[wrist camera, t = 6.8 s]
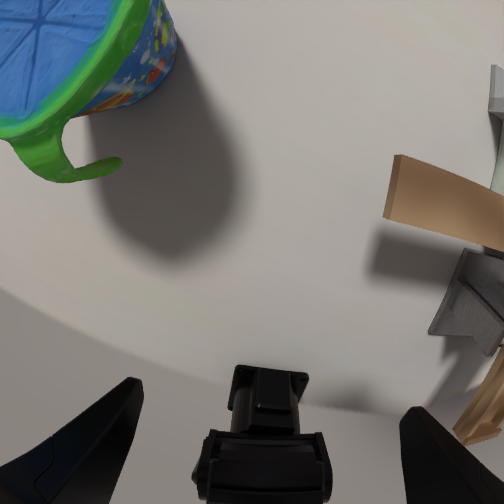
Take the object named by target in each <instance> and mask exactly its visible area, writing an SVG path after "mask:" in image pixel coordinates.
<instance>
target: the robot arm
mask: <svg viewBox="0 0 504 504" xmlns="http://www.w3.org/2000/svg"><path fill="white" fill-rule="evenodd" d="M240 370H242V371H240ZM308 380H309V377H308V374H307V373H302V372H293V371H284V370H275V369H267V368H260V367H253V366H246V365H237V366H236V367H235V370H234V375H233V381H232V386H231V391H230V396H229V402H228V410H230V411H233V413H232V421H231V429H230V432H225V431H217V430H215V429H210V433H209V436H208V437H206V439H204V441H203V447H202V452H201V456H200V458H199V460H198V462H197V464H196V466H195V468H194V470H193V473H192V477H191V478H192V481H193V482H194V483H195V484H196V485H197V490H198V497H199V499H200V500H205V501H207V502H206V503H207V504H323V503H327V502H328V501H329V499H330V496H331V492H332V483H333V477H332V476H333V475H332V468H331V463H330V459H329V456H328V452H327V449H326V445H325V442H324V438H323V435H322V432H315V433H314V434H300V424H299V411H298V403H299V401H300V398H301V396H302V394H303V392H304V389H305V387H306V385H307V383H308ZM143 400H144V392H143V385H142V381H141V380H140V379H137V378H134V377H127V378H126V379H125V380H124V381H122V382H121V383H120V384H119V385H117V386H116V387H115V388H113V389H112V390H111V391H110V392H108V393H107V394H106V395H104V396H103V397H102V398H100V399H99V400H98V401H96V402H95V403H94V404H93V405H91V406H90V407H89V408H87V409H86V410H85V411H83V412H82V413H81V414H80V415H78V416H77V417H76V418H74V419H73V420H72V421H71V422H69V423H68V424H66V425H65V426H64V427H62V428H61V429H60V430H58V431H57V432H56V433H55V434H53V435H52V437H51V436H50V437H49V438H47V439H46V440H45V441H43V442H42V443H41V444H39V445H38V446H36V447H35V448H33V449H32V450H30V451H29V452H27V453H25V454H23V455H21V456H20V457H18V458H16V459H14V460H12V461H10V462H8V463H6V464H4V465H3V466H1V467H0V504H109V502H110V499H111V496H112V494H113V491H114V488H115V486H116V483H117V481H118V478H119V476H120V473H121V470H122V468H123V465H124V462H125V460H126V457H127V455H128V452H129V450H130V447H131V445H132V442H133V439H134V435H135V431H136V427H137V423H138V419H139V416H140V412H141V408H142V404H143ZM399 428H400V442H401V461H402V468H403V475H404V483H405V491H406V500H407V504H504V482H503V481H501V480H500V479H499V478H498V477H496V476H495V475H494V474H493V473H492V472H490V471H489V470H488V469H487V468H486V467H485V466H484V465H483V464H482V463H480V461H479V460H478V459H477V458H475V456H474V455H472V454H471V453H470V452H469V451H468V450H467V449H466V448H465V447H464V446H463V445H462V444H461V443H460V442H459V441H458V440H457V439H456V438H454V436H452V435H451V434H450V433H449V432H448V431H447V430H446V429H445V428H444V427H443V426H442V425H441V424H440V423H439V422H438V421H437V420H436V419H435V418H434V417H433V416H431V415H430V414H429V413H428V412H427V411H426V410H425V409H424V408H423V407H421V406H415V407H411V408H410V409H409V410H408V411H407V413H406V414H405V415H404V416H403V418H402V419H401V421H400V424H399Z"/></svg>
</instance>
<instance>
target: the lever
mask: <svg viewBox="0 0 504 504" xmlns="http://www.w3.org/2000/svg"><path fill="white" fill-rule="evenodd" d="M383 217H384V218H386V219H388V220H392V221H396V222H400V223H404V224H408V225H412V226H416V227H419V228H423V229H427V230H431V231H434V232H438V233H442V234H445V235H449V236H452V237H456V238H459V239H463V240H466V241H470V242H473V243H476V244H480V245H483V246H486V247H489V248H493V249H496V250H499V251H502V252H504V196H503V195H501V194H498V193H496V192H494V191H492V190H490V189H488V188H486V187H484V186H481V185H479V184H477V183H475V182H472V181H470V180H468V179H466V178H463V177H461V176H458V175H456V174H454V173H451V172H449V171H446V170H444V169H441V168H438V167H436V166H433V165H430V164H428V163H425V162H422V161H419V160H417V159H414V158H411V157H408V156H405V155H394V162H393V167H392V173H391V179H390V184H389V189H388V194H387V199H386V204H385V208H384V213H383ZM500 344H503V345H502V347H501V349H500V351H499V353H498V355H497V357H496V359H495V361H494V363H493V364H492V366H491V368H490V370H489V372H488V374H487V375H486V377H485V379H484V381H483V382H482V384H481V386H480V388H479V389H478V391H477V392H476V394H475V396H474V397H473V399H472V401H471V402H470V404H469V405H468V407H467V408H466V410H465V411H464V413H463V414H462V416H461V417H460V418H459V420H458V421H457V423H456V424H455V426H454V427H453V428H452V429H453V430H454V432H455V434H456V436H457V437H458V439H459V441H460V442H461V444H462V445H463V446H464V447H465V446H468V445H471V444H475V443H478V442H482V441H485V440H488V439H491V438H494V437H497V436H498V434H499V433H500V432H501V431H502V430H501V428H500V427H501V425H502V424H503V423H504V338H503V340H502V342H501V343H500Z"/></svg>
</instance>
